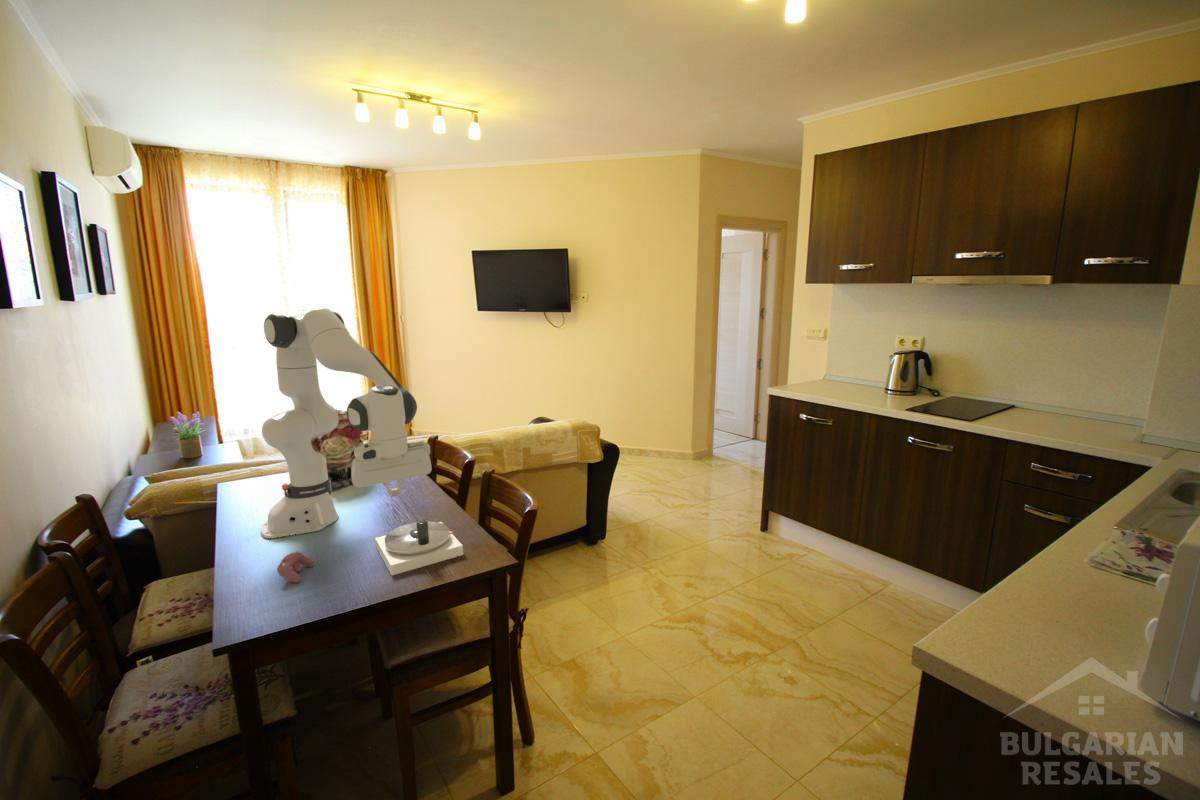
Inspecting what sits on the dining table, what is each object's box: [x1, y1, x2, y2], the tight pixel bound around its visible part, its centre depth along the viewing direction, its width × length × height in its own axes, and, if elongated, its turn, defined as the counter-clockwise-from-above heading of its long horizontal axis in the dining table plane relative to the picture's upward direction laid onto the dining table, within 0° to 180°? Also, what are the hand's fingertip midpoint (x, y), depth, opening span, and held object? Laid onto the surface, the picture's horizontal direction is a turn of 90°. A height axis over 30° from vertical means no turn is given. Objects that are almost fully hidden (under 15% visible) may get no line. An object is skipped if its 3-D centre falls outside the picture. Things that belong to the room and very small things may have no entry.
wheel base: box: [374, 521, 464, 576], centre depth 157 cm, size 20×20×3 cm
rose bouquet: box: [311, 408, 369, 493], centre depth 215 cm, size 26×29×30 cm
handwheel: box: [385, 520, 450, 556], centre depth 156 cm, size 18×18×8 cm
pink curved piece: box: [276, 550, 315, 584], centre depth 145 cm, size 10×5×7 cm, turn 5°
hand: (394, 495), depth 145 cm, fingers closed
